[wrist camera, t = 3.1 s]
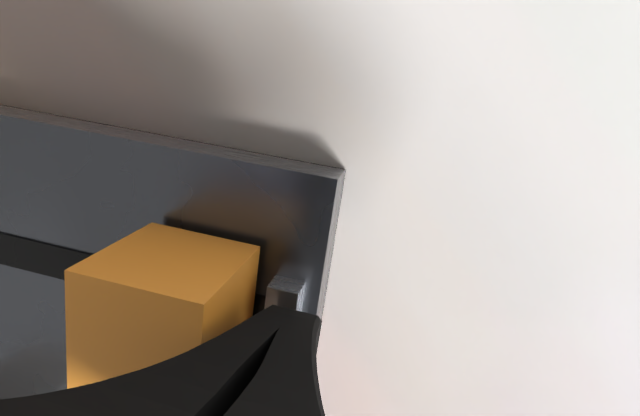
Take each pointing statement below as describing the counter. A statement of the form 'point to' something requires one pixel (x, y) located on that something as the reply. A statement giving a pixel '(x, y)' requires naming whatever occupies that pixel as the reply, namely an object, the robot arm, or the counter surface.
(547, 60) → the counter surface
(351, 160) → the counter surface
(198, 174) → the mixer panel
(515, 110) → the counter surface
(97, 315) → the fader
